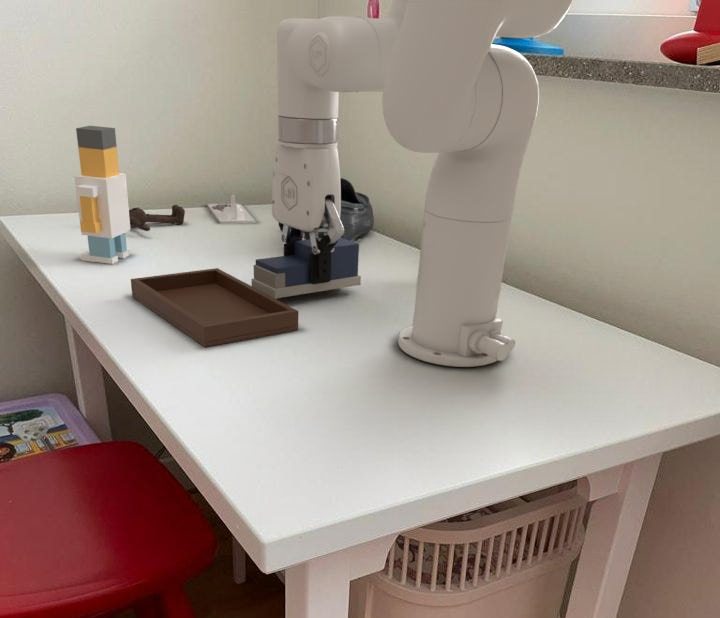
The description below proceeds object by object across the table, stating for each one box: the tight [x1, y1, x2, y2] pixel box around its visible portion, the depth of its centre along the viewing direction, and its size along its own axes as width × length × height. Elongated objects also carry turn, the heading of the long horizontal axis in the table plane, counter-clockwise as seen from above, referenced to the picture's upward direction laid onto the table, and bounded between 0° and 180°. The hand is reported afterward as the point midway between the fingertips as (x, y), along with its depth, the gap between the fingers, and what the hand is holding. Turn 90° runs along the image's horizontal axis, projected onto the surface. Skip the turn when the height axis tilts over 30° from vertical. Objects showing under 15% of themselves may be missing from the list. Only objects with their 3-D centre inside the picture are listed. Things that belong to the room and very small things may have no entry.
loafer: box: [303, 177, 375, 242], centre depth 134 cm, size 10×29×10 cm, turn 174°
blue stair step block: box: [251, 238, 362, 299], centre depth 105 cm, size 6×14×6 cm, turn 127°
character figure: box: [74, 125, 131, 265], centre depth 112 cm, size 8×10×18 cm
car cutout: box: [207, 193, 257, 225], centre depth 146 cm, size 15×7×4 cm, turn 18°
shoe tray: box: [130, 267, 300, 348], centre depth 97 cm, size 21×13×2 cm, turn 37°
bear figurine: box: [129, 204, 186, 232], centre depth 134 cm, size 18×4×14 cm
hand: (307, 276), depth 105 cm, fingers closed on blue stair step block, 5 cm apart
